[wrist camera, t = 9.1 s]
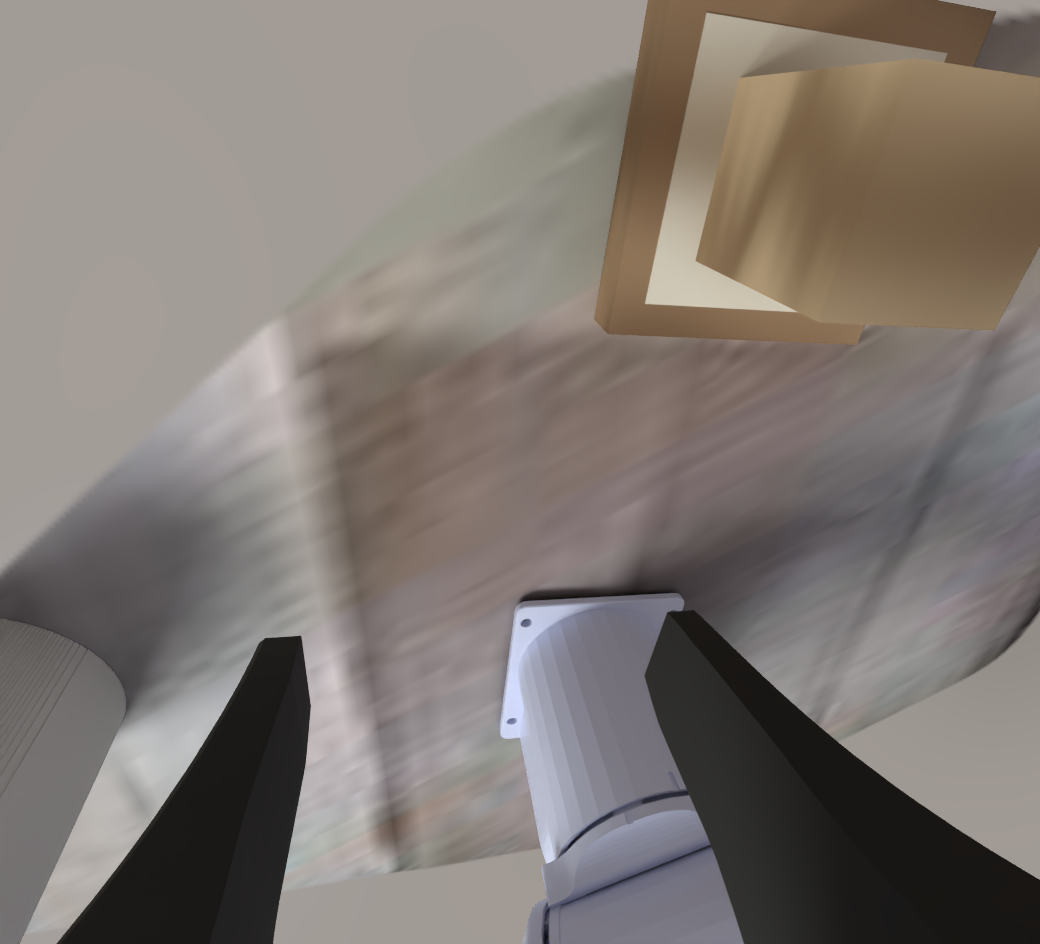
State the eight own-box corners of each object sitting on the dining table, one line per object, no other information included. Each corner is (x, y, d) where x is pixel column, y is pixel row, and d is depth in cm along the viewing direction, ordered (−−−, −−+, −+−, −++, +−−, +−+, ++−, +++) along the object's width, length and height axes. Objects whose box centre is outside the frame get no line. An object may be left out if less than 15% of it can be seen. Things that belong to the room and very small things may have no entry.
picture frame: (829, 330, 21) (857, 345, 19) (594, 319, 19) (608, 334, 18) (949, 19, 16) (997, 11, 15) (654, -35, 14) (679, -50, 13)
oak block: (827, 269, 18) (994, 330, 13) (695, 260, 17) (819, 322, 12) (889, 98, 15) (1123, 90, 10) (739, 77, 15) (917, 58, 10)
